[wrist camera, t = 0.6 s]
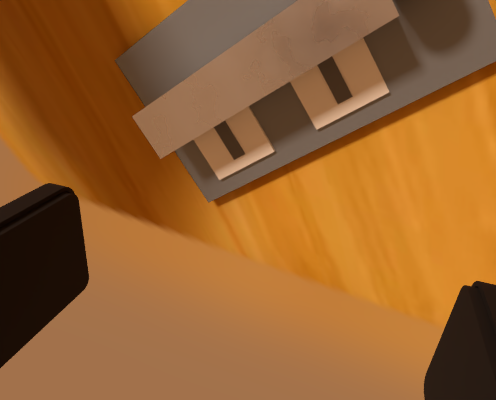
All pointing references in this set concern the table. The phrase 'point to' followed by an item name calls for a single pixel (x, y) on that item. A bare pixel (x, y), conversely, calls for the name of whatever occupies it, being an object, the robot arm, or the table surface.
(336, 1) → the swing bar
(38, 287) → the robot arm
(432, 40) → the label board
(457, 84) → the table surface
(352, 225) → the table surface
